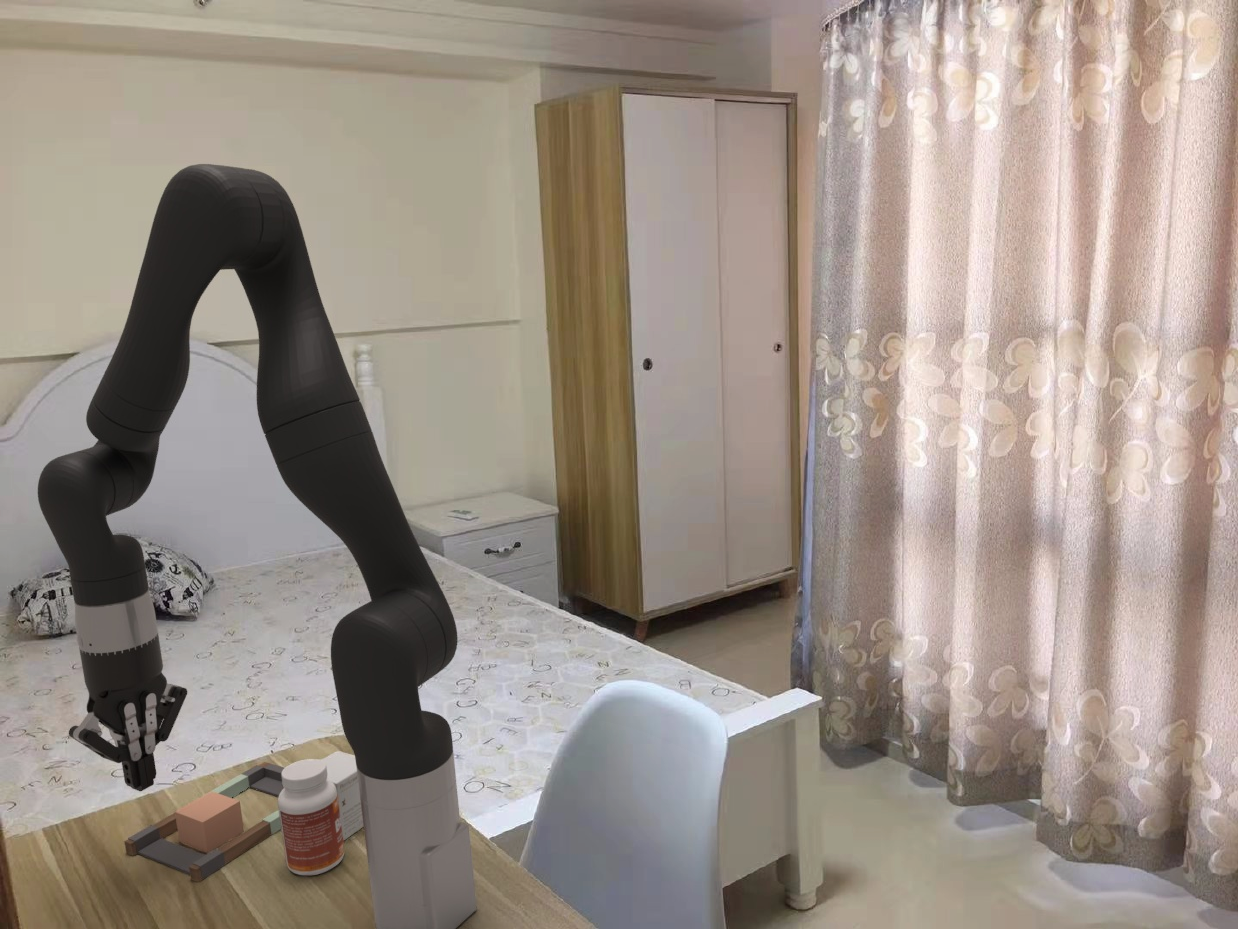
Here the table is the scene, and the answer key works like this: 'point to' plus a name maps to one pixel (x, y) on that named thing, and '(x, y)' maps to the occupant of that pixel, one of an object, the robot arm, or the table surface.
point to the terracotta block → (209, 821)
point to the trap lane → (202, 865)
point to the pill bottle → (310, 818)
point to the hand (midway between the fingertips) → (142, 786)
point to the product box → (346, 790)
